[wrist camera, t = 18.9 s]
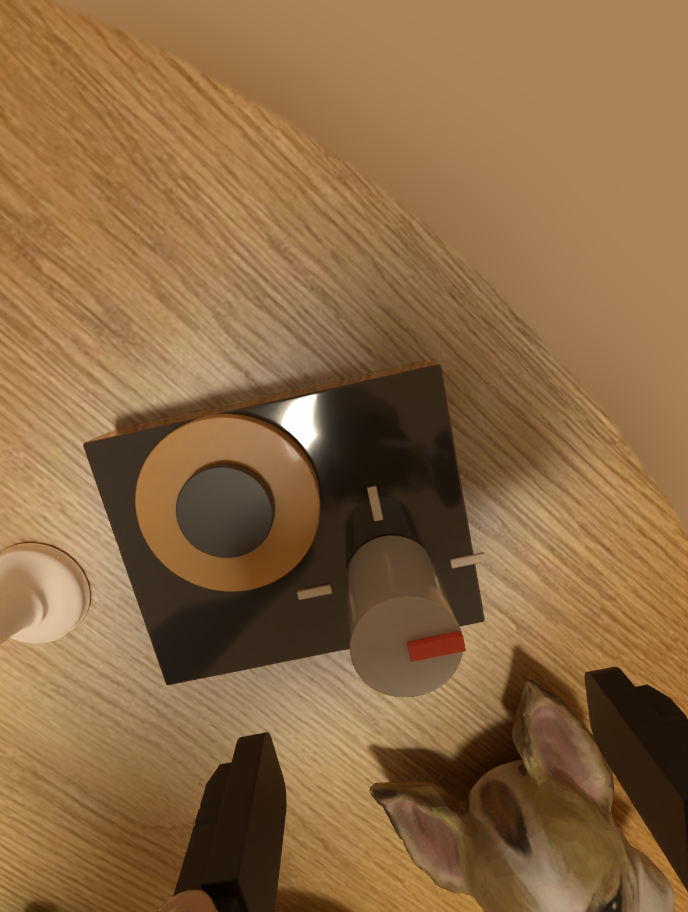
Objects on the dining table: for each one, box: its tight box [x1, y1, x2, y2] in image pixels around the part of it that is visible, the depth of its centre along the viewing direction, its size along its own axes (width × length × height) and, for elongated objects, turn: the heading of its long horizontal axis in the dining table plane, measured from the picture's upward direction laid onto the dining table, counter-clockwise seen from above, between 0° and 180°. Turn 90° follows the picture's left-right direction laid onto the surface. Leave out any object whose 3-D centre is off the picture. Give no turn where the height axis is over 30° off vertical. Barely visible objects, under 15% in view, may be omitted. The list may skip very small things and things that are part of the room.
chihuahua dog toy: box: [370, 679, 675, 912], centre depth 23 cm, size 11×9×15 cm
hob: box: [83, 361, 486, 685], centre depth 22 cm, size 14×12×3 cm
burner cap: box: [135, 414, 321, 591], centre depth 19 cm, size 7×7×1 cm
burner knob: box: [347, 536, 466, 697], centre depth 18 cm, size 4×4×5 cm
